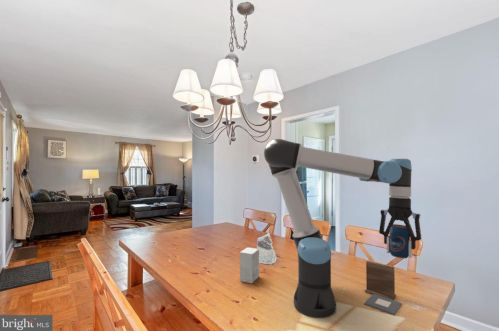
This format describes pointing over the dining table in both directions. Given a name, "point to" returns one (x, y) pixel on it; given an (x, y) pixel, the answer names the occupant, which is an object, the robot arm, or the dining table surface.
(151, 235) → the dining table surface
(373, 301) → the pad
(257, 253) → the small box
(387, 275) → the walnut screen
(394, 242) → the soda can
